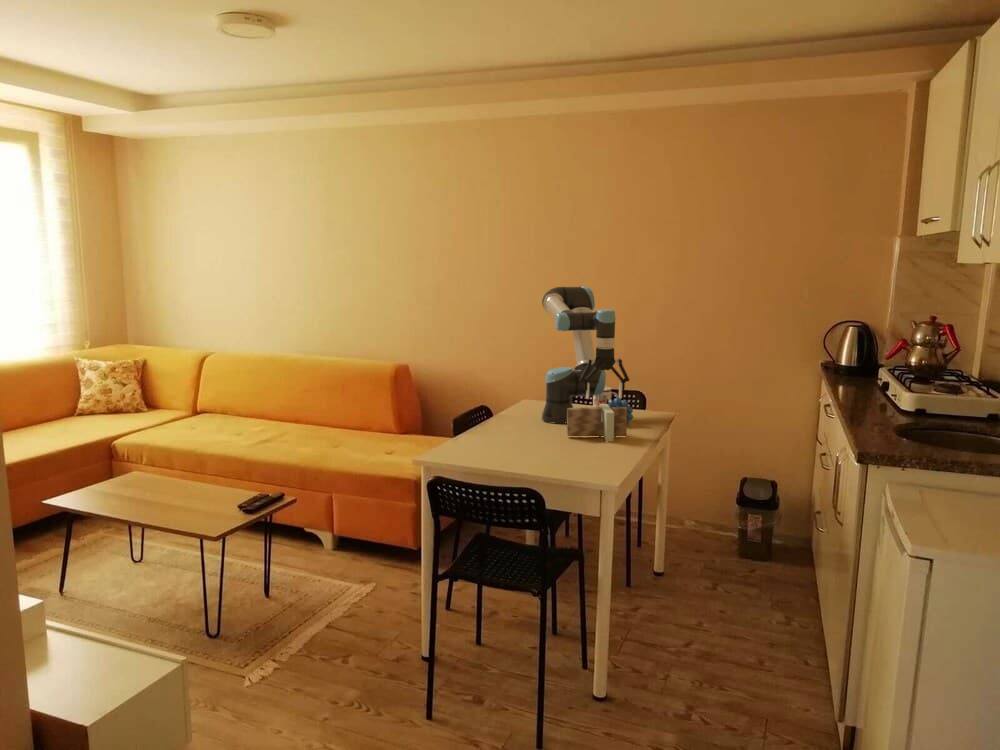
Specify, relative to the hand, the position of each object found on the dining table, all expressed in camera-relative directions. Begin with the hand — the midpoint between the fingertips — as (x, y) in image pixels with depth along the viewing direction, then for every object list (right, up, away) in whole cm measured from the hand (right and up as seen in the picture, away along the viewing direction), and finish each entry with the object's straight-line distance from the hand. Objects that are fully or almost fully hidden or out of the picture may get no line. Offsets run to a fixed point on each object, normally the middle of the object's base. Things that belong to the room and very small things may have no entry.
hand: (603, 398), depth 301 cm
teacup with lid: (+8, -6, +51) cm, 51 cm away
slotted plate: (0, -16, -4) cm, 16 cm away
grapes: (+9, -13, +14) cm, 21 cm away
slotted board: (-4, -16, -4) cm, 17 cm away
